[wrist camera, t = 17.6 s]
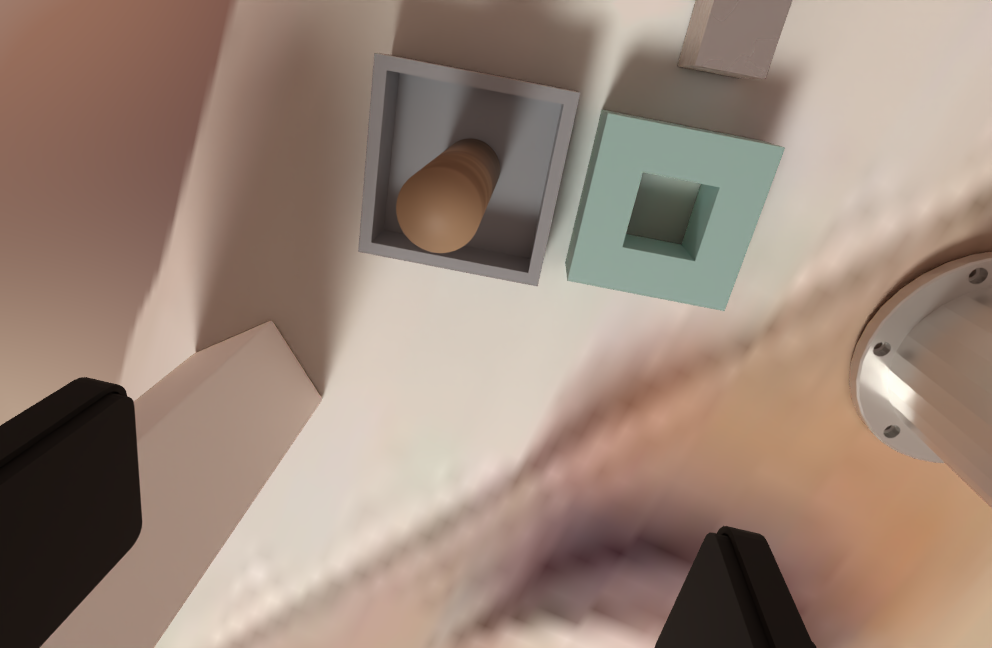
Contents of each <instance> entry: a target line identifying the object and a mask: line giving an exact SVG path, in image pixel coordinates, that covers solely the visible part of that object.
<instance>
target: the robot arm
mask: <svg viewBox="0 0 992 648" xmlns="http://www.w3.org/2000/svg"><path fill="white" fill-rule="evenodd" d="M849 385H850V392H851V399H852V401H853V404H854V406H855V409H856V411H857V413H858V415H859V417H860V418H861V419H862V421H863V422H864V423H865V425H866V426H867V427H868V428H869V429H870V431H871V432H872V433H873V434H874V435H875V436H876V437H877V438H878V439H879V440H880V441H881V442H883V443H884V444H886V445H887V446H889V447H890V448H892V449H894V450H895V451H897V452H899V453H901V454H904V455H907V456H909V457H912V458H914V459H918V460H924V461H929V462H934V463H945V464H947V465H948V466H949V467H950V468H951V469H952V470H953V471H954V472H955V473H956V474H957V475H958V476H959V477H960V478H961V479H962V480H963V481H964V482H965V483H966V484H967V485H968V486H969V487H970V488H971V489H972V490H973V491H974V492H975V493H976V494H977V495H978V496H980V497H981V498H982V499H983V500H984V501H985V502H986V503H987V504H988V505H989V506H990V507H991V508H992V252H986V253H979V254H973V255H969V256H966V257H963V258H960V259H957V260H954V261H950V262H947V263H945V264H943V265H941V266H939V267H937V268H935V269H933V270H930V271H928V272H926V273H924V274H922V275H921V276H919V277H918V278H916V279H915V280H913V281H912V282H910V283H909V284H907V285H906V286H905V287H903V288H902V289H900V290H899V291H898V292H897V293H896V294H895V295H894V296H893V297H891V298H890V299H889V300H888V301H887V302H886V303H885V304H884V305H883V306H882V307H881V308H880V309H879V311H878V312H877V313H876V314H875V316H874V317H873V318H872V319H871V321H870V322H869V323H868V324H867V326H866V328H865V330H864V332H863V333H862V335H861V337H860V339H859V341H858V343H857V345H856V348H855V351H854V354H853V357H852V361H851V365H850V376H849ZM141 529H142V509H141V495H140V480H139V465H138V451H137V436H136V421H135V407H134V402H133V400H132V399H131V398H130V397H127V393H126V391H125V389H124V388H123V387H122V386H120V385H117V384H113V383H108V382H104V381H100V380H95V379H91V378H87V377H86V378H85V377H84V378H78V379H76V380H74V381H72V382H70V383H69V384H67V385H66V386H64V387H62V388H61V389H59V390H57V391H56V392H54V393H53V394H51V395H49V396H48V397H46V398H44V399H43V400H41V401H40V402H38V403H36V404H35V405H33V406H31V407H30V408H28V409H27V410H25V411H23V412H22V413H20V414H18V415H17V416H15V417H14V418H12V419H10V420H9V421H7V422H5V423H4V424H2V425H1V426H0V648H40V647H41V646H42V645H43V644H44V642H45V641H46V640H47V639H48V638H49V637H50V636H51V635H52V634H53V633H54V632H55V630H56V629H57V628H58V627H59V626H60V625H61V624H62V623H63V622H64V621H65V620H66V619H67V617H68V616H69V615H70V614H71V613H72V612H73V611H74V610H75V609H76V608H77V607H78V605H79V604H80V603H81V602H82V601H83V600H84V599H85V598H86V597H87V596H88V595H89V594H90V592H91V591H92V590H93V589H94V588H95V587H96V586H97V585H98V584H99V583H100V582H101V580H102V579H103V578H104V577H105V576H106V575H107V574H108V573H109V572H110V571H111V570H112V568H113V567H114V566H115V565H116V564H117V563H118V562H119V561H120V560H121V559H122V558H123V557H124V555H125V554H126V553H127V552H128V551H129V550H130V549H131V548H132V547H133V545H134V544H135V542H136V541H137V539H138V537H139V535H140V532H141ZM655 648H816V646H815V644H814V643H813V642H812V641H811V639H810V637H809V634H808V632H807V630H806V628H805V625H804V623H803V621H802V619H801V616H800V614H799V612H798V610H797V607H796V605H795V603H794V601H793V598H792V596H791V594H790V592H789V590H788V587H787V585H786V583H785V581H784V578H783V576H782V574H781V572H780V569H779V567H778V565H777V563H776V560H775V558H774V556H773V554H772V551H771V549H770V547H769V545H768V543H767V541H766V539H765V538H764V536H762V535H761V534H758V533H754V532H749V531H745V530H741V529H736V528H732V527H728V526H723V527H722V528H720V529H719V531H718V532H717V534H716V533H709V534H707V535H706V537H705V539H704V541H703V543H702V545H701V547H700V550H699V552H698V554H697V556H696V558H695V560H694V563H693V565H692V567H691V569H690V571H689V573H688V575H687V578H686V580H685V582H684V584H683V586H682V588H681V591H680V593H679V595H678V597H677V599H676V601H675V604H674V606H673V608H672V610H671V612H670V614H669V617H668V619H667V621H666V623H665V625H664V627H663V630H662V632H661V634H660V636H659V638H658V640H657V642H656V645H655Z"/></svg>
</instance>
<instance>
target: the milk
mask: <svg viewBox="0 0 992 648" xmlns="http://www.w3.org/2000/svg"><path fill="white" fill-rule="evenodd" d="M321 401H322V398H321V396H320V394H319V393H318V391H317V390H316V388H315V387H314V385H313V384H312V382H311V380H310V379H309V377H308V376H307V374H306V373H305V371H304V370H303V368H302V366H301V365H300V363H299V362H298V360H297V359H296V357H295V355H294V354H293V352H292V351H291V349H290V348H289V346H288V345H287V343H286V341H285V340H284V338H283V337H282V335H281V334H280V332H279V330H278V329H277V327H276V326H275V324H274V323H273V321H268V322H266V323H264V324H261V325H259V326H257V327H254V328H252V329H250V330H247V331H245V332H243V333H240V334H238V335H236V336H234V337H231V338H229V339H227V340H224V341H222V342H220V343H217V344H215V345H213V346H210V347H208V348H206V349H203V350H201V351H199V352H197V353H194V354H193V355H192V356H190V357H189V358H188V359H187V360H185V361H184V362H183V363H182V364H180V365H179V366H178V367H177V368H175V369H174V370H173V371H172V372H170V373H169V374H168V375H167V376H165V377H164V378H163V379H162V380H160V381H159V382H158V383H157V384H155V385H154V386H153V387H152V388H150V389H149V390H148V391H147V392H145V393H144V394H143V395H142V396H140V397H139V398H138V399H137V400H135V401H134V407H135V421H136V436H137V451H138V465H139V480H140V495H141V509H142V529H141V532H140V535H139V537H138V539H137V541H136V542H135V544H134V545H133V547H132V548H131V549H130V550H129V551H128V552H127V553H126V554H125V555H124V557H123V558H122V559H121V560H120V561H119V562H118V563H117V564H116V565H115V566H114V567H113V568H112V570H111V571H110V572H109V573H108V574H107V575H106V576H105V577H104V578H103V579H102V580H101V582H100V583H99V584H98V585H97V586H96V587H95V588H94V589H93V590H92V591H91V592H90V594H89V595H88V596H87V597H86V598H85V599H84V600H83V601H82V602H81V603H80V604H79V605H78V607H77V608H76V609H75V610H74V611H73V612H72V613H71V614H70V615H69V616H68V617H67V619H66V620H65V621H64V622H63V623H62V624H61V625H60V626H59V627H58V628H57V629H56V630H55V632H54V633H53V634H52V635H51V636H50V637H49V638H48V639H47V640H46V641H45V642H44V644H43V645H42V646H41V647H40V648H154V647H155V645H156V644H157V642H158V641H159V639H160V638H161V636H162V635H163V634H164V632H165V631H166V629H167V628H168V626H169V625H170V623H171V622H172V620H173V619H174V617H175V616H176V614H177V613H178V611H179V610H180V608H181V607H182V606H183V604H184V603H185V601H186V600H187V598H188V597H189V595H190V594H191V592H192V591H193V589H194V588H195V586H196V585H197V583H198V582H199V580H200V579H201V578H202V576H203V575H204V573H205V572H206V570H207V569H208V567H209V566H210V564H211V563H212V561H213V560H214V558H215V557H216V555H217V554H218V553H219V551H220V550H221V548H222V547H223V545H224V544H225V542H226V541H227V539H228V538H229V536H230V535H231V533H232V532H233V530H234V529H235V527H236V526H237V525H238V523H239V522H240V520H241V519H242V517H243V516H244V514H245V513H246V511H247V510H248V508H249V507H250V505H251V504H252V502H253V501H254V499H255V498H256V497H257V495H258V494H259V492H260V491H261V489H262V488H263V486H264V485H265V483H266V482H267V480H268V479H269V477H270V476H271V474H272V473H273V472H274V470H275V469H276V467H277V466H278V464H279V463H280V461H281V460H282V458H283V457H284V455H285V454H286V452H287V451H288V449H289V448H290V446H291V445H292V444H293V442H294V441H295V439H296V438H297V436H298V435H299V433H300V432H301V430H302V429H303V427H304V426H305V424H306V423H307V421H308V420H309V418H310V417H311V416H312V414H313V413H314V411H315V410H316V408H317V407H318V405H319V404H320V402H321Z"/></svg>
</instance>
